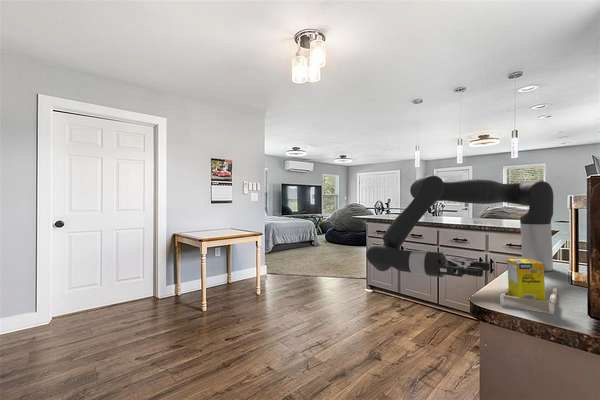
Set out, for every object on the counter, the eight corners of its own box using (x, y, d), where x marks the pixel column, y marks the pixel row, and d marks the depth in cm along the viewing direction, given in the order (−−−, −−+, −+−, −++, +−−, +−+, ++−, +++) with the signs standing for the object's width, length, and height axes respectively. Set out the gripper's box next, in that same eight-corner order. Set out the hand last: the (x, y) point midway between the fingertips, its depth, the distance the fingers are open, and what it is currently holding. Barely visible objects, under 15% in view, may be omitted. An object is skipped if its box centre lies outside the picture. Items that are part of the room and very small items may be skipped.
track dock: (513, 285, 94) (512, 277, 94) (557, 291, 87) (557, 282, 87) (500, 305, 78) (500, 295, 78) (553, 314, 71) (553, 303, 71)
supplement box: (546, 306, 75) (544, 263, 75) (519, 306, 76) (517, 263, 76) (533, 299, 81) (531, 258, 81) (508, 298, 82) (506, 258, 82)
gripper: (418, 254, 90) (480, 260, 79) (434, 248, 100) (491, 252, 89) (419, 280, 90) (481, 289, 79) (435, 270, 100) (492, 277, 89)
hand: (486, 269), depth 84 cm, fingers open, 8 cm apart
